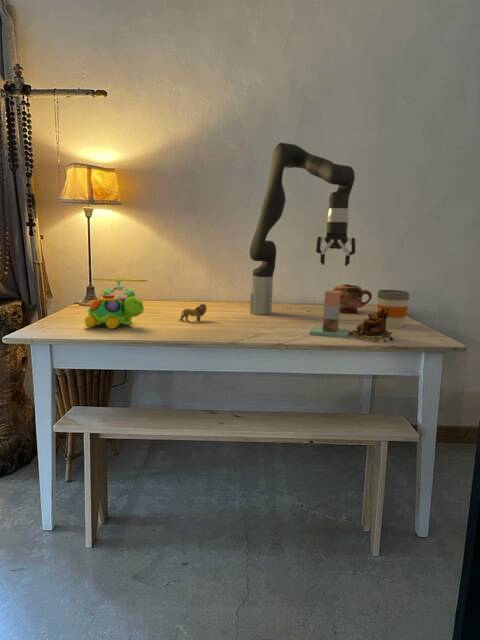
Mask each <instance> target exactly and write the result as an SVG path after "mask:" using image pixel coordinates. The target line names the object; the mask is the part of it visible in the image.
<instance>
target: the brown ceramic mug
mask: <svg viewBox="0 0 480 640" xmlns="http://www.w3.org/2000/svg"><path fill="white" fill-rule="evenodd" d="M333 290H334V291H340V309H339V314H346V315H347V314H348V315H349V314H351V315H352V314H353V315H356V314H357V313H358V308H359V309H361V308H362V307H364V306H366V305H367V304H369V302H370V301H371V300H372V299H373V298H372V297H373V295H372V292H371V291H370V290H367V289H362V287H361V286H358V285H353V284H352V285H351V284H348V283H347V284H340V285H339V284H338V285H335V286H334V288H333ZM364 295H367V296H368V299H367V300H366V301H363V296H364Z"/></svg>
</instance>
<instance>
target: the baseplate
mask: <svg viewBox="0 0 480 640" xmlns="http://www.w3.org/2000/svg"><path fill="white" fill-rule="evenodd" d="M350 332H351V328H343V327H338V330H337V332H325V331H323V326H320V325H314V326H313V327H312V329H311V330H310V331H309V335H311V336H319V337H320V336H321V337H331V338H332V337H333V338H341V339H342V338H344V339H348V337H349V336H350V334H349V333H350Z"/></svg>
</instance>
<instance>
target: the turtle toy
mask: <svg viewBox="0 0 480 640" xmlns="http://www.w3.org/2000/svg"><path fill="white" fill-rule="evenodd" d="M116 297H117V296H114V294H111V295H104V296H102V297H100V298H98V299H91V301H90V303H89V308H88V309H87V315H88V316H86V317H85V318H84V324H85V326H86V327H89V328H93V327H96V325H98V323H100V324H105V325H106V327H107V328H108V329H111V330H112V329H113V330H114V329H116V328H117V327H119V326H120V325H130V324H132V319H133V318H134V317H135V318H136V317H138V316H140V315H141V314H143V312H144V310H145V309H144V308H145V307H144V306H143V305H144V304H143V301H142V300H140V299H139V298H137V297H135V296H134V297H129V298H127V299H126V300H125V299H124V298H120V299H118V298H116Z"/></svg>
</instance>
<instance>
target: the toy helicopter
mask: <svg viewBox="0 0 480 640" xmlns="http://www.w3.org/2000/svg"><path fill="white" fill-rule="evenodd" d="M91 281H102V282H103V281H106V282H107V281H109V282H110V281H111V282H113V281H114V282H117V284H116V285H115V286H113V287H112V288H105V289H103V293H102V297H103V296H104V295H112V293H115V291H123V295H125V296H127V297H124V296H122V297H121V296H118V297H117V296H115V297H116V298H118V299H120V298H124V299H125V300H126V299H127V298H129V297H135V296H136V294H135V289H133V288H131V289H129V288H128V287H126V286H123V285H121V282H148V279H137V278H136V279H132V278H131V279H130V278H129V279H128V278H91Z"/></svg>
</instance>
